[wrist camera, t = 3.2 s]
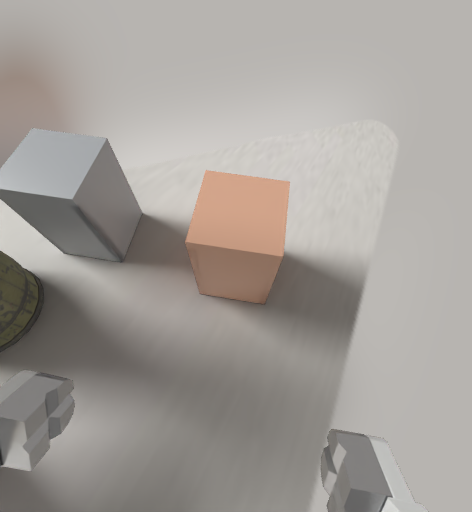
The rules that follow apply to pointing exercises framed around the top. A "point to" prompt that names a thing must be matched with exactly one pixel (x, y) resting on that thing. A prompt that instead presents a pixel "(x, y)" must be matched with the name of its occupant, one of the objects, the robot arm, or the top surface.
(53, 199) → the light gray boxy block
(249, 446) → the top surface
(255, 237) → the tan block
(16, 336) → the thermos
